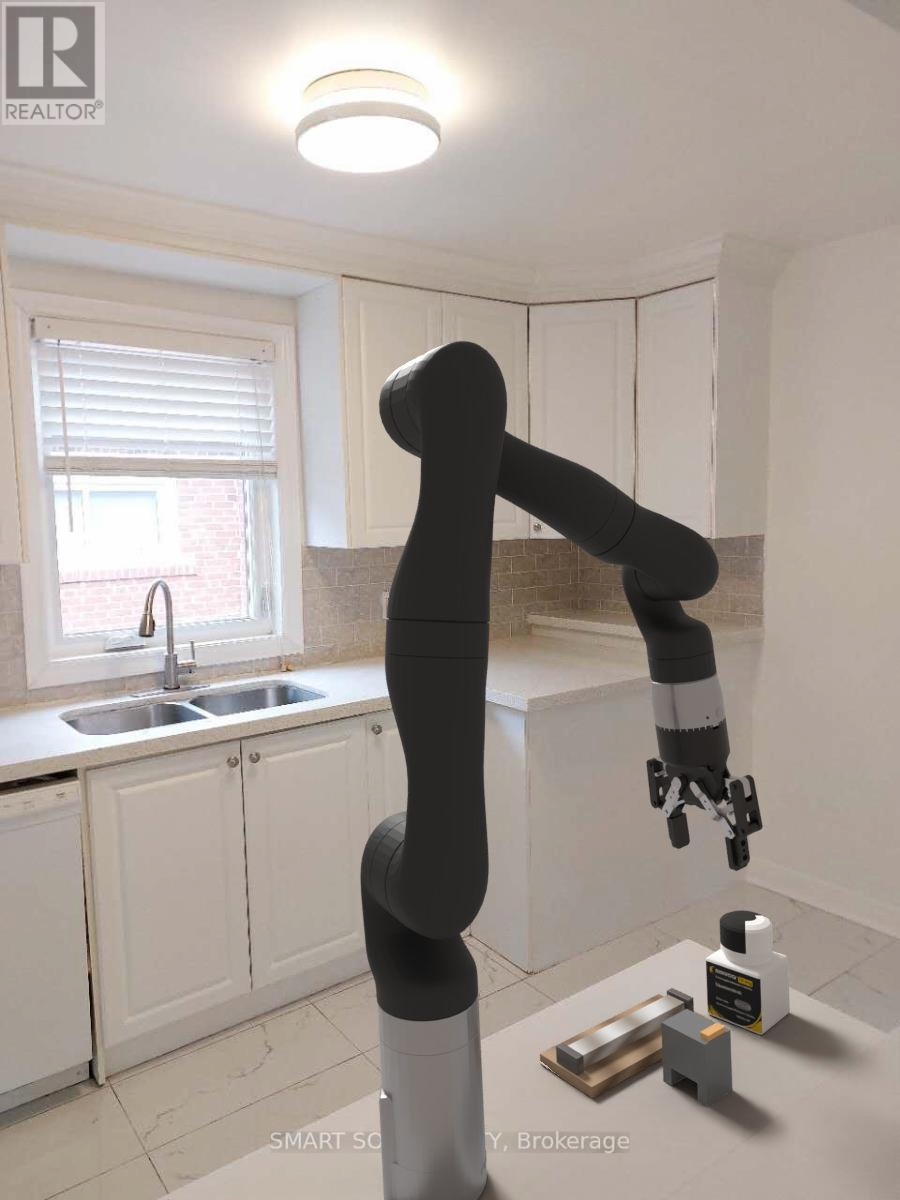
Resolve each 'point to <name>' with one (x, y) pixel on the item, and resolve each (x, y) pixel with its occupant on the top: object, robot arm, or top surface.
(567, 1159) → the top surface
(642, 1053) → the rail board
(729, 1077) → the block
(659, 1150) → the top surface
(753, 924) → the medicine bottle
